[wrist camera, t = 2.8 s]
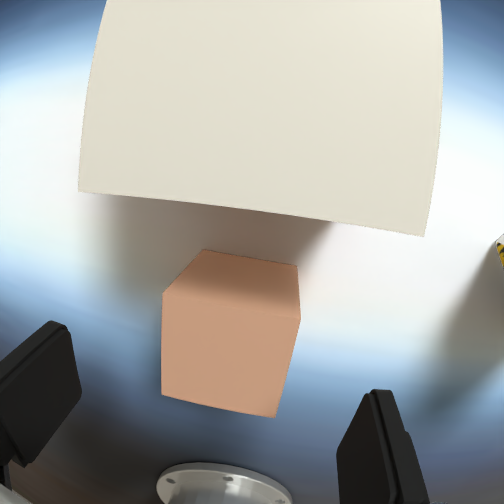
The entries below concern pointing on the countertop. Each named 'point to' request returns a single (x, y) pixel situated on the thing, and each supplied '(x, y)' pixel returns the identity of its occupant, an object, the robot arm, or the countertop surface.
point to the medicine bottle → (500, 249)
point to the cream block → (269, 107)
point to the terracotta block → (230, 332)
